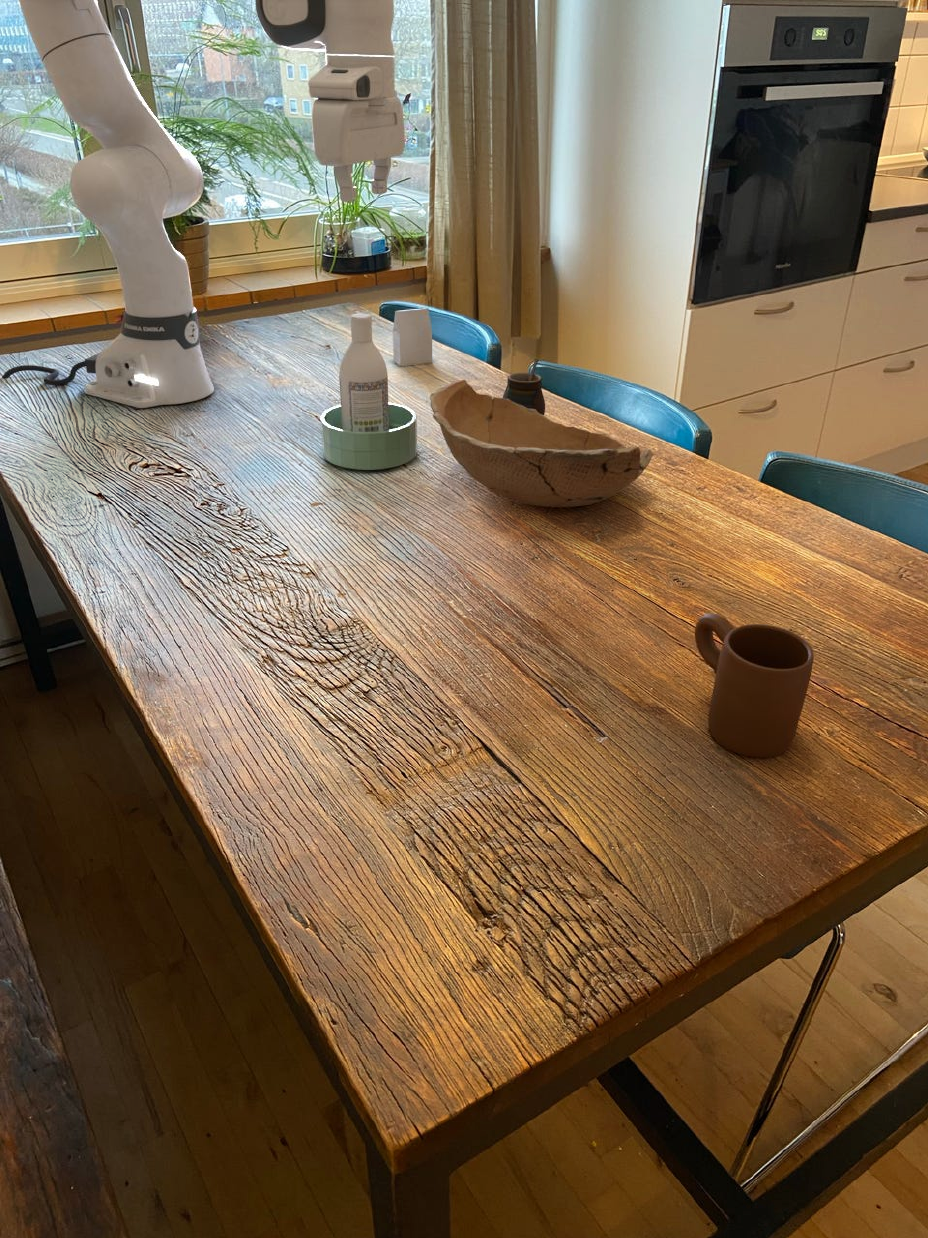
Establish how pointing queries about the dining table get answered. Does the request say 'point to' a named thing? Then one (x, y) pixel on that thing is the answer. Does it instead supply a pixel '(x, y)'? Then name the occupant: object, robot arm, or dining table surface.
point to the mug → (754, 684)
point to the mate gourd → (526, 390)
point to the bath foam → (363, 381)
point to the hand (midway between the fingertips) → (364, 197)
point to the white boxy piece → (412, 337)
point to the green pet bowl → (370, 441)
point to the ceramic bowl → (531, 451)
